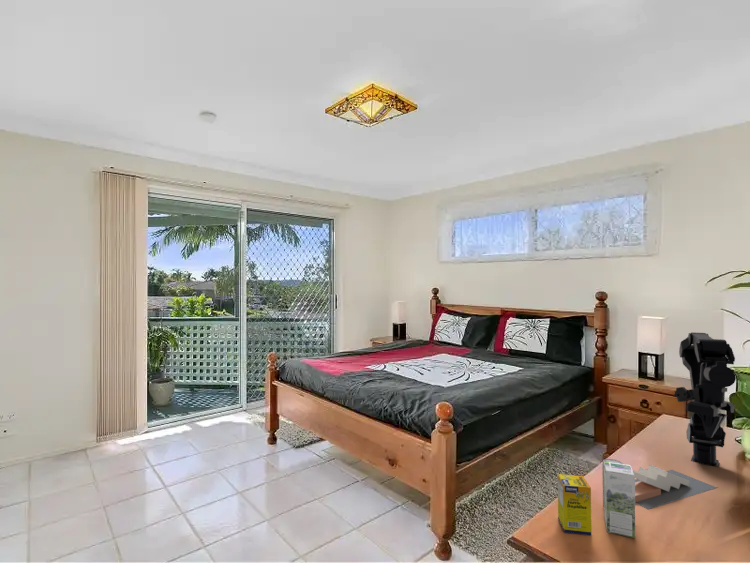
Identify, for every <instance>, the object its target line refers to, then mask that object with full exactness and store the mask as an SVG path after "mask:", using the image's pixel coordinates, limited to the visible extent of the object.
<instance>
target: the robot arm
mask: <svg viewBox="0 0 750 563" xmlns="http://www.w3.org/2000/svg"><path fill="white" fill-rule="evenodd" d="M679 344H680V345H679V348H678V349H679V352H678V355H679V358H681V360H682V361H681V362H682V365H683V366H684V367H685V368H686V369H687V370H688V371H689V380H690V386H691V389H687V388H686V387H685V386H680V387H676V389H675V391H674V394H673V396H674V397H675V398H676V399H677V402H678V403H680V402H681V403H682V402H687V403H686V407H685V408H686V409H685V410H686V411H687V412H691V413H693V414H692V416H691V417H690V419H689V423H688V424H687V429H686V440H687V441H688V442H689V444H692V454H693V455H692V456H691V459H690V462H693V463H696V464H697V463H698V464H701V465H705V466H710V467H716V468H717V467H719V463H720V462H719V461H720V460H719V459H717V447H719V448H724V447H725V439H726V436H727V433H726V432H725V430H724V427H722V426H721V425H722V424H723V422H724V421H725V419H726V418H727V417H728V414H726V413H722V411H726V412H728V413H729V414H733V413H735V405H734V404H733V403H732V402H731V401H726V400H725V398H726V397H725V395H726V393H728V388H729V387H731V386H733V385H734V384H735V382H736V379H737V377H736V374H735V372H734V371H733V370H732V368H730V367H728V365H734V364H735V362H736V361H735V360H736V357H735V354H734V351H733V348H732V347H731V345H730V344H729V343H728V342H727V340H726V339H719V338H718V339H717V338H713V337H712V336H709V333H706V332H693V331H692V332H689V333H688V336H687V337H686V338H684V339H683V340H681V342H680V343H679Z"/></svg>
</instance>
